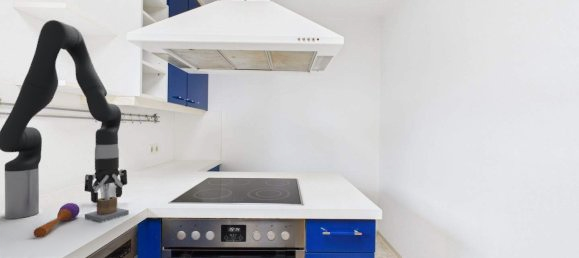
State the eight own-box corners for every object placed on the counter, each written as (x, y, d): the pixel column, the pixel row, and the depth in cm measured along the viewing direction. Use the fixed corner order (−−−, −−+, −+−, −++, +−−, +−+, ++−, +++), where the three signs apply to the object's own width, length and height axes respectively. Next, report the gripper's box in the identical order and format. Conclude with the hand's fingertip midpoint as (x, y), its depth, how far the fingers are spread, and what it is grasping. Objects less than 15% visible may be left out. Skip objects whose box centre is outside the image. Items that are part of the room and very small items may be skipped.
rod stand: (84, 218, 102) (84, 189, 101) (112, 210, 111) (112, 184, 111) (101, 222, 97) (101, 192, 97) (128, 214, 106) (128, 186, 106)
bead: (93, 213, 102) (93, 199, 102) (110, 208, 108) (110, 196, 108) (104, 215, 100) (104, 201, 100) (120, 210, 105) (120, 197, 105)
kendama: (25, 226, 83) (62, 202, 103) (31, 244, 84) (66, 217, 103) (48, 220, 85) (80, 198, 104) (53, 239, 85) (84, 213, 105)
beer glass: (117, 204, 120) (116, 169, 119) (97, 206, 116) (97, 170, 116) (118, 200, 126) (118, 167, 126) (100, 202, 123) (100, 168, 123)
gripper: (119, 154, 112) (119, 194, 112) (80, 158, 99) (80, 203, 99) (131, 155, 109) (131, 196, 109) (92, 159, 96) (93, 205, 96)
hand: (107, 199), depth 104 cm, fingers open, 8 cm apart
